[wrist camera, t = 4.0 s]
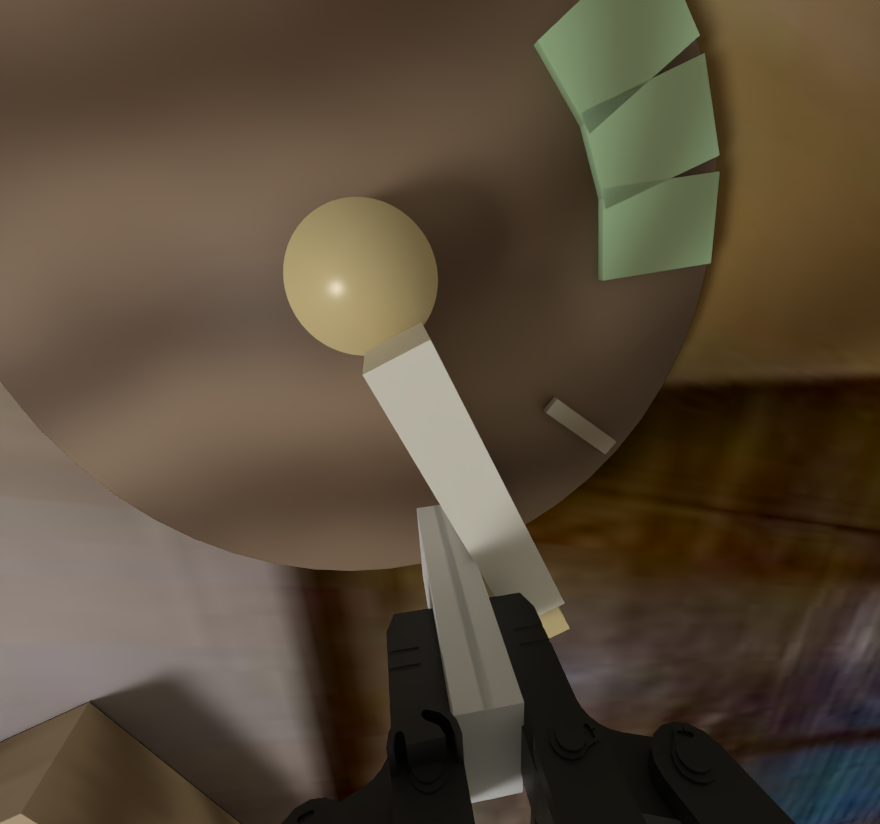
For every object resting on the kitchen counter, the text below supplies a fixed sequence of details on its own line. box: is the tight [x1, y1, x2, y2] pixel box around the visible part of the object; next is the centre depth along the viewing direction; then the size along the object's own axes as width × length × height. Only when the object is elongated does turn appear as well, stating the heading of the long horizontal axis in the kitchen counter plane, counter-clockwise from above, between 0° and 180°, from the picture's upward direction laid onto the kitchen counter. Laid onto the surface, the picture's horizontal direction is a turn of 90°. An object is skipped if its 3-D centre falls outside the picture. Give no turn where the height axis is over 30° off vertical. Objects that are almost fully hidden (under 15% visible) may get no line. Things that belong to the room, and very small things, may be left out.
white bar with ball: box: [283, 197, 570, 638], centre depth 12 cm, size 13×4×4 cm, turn 26°
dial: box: [0, 0, 720, 571], centre depth 13 cm, size 22×22×2 cm
